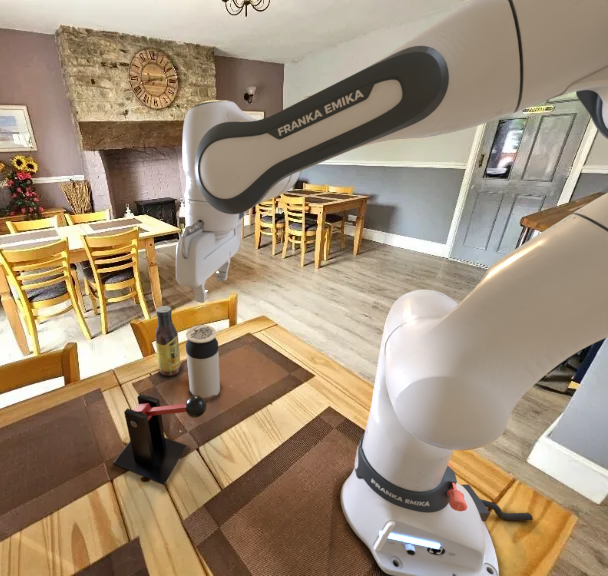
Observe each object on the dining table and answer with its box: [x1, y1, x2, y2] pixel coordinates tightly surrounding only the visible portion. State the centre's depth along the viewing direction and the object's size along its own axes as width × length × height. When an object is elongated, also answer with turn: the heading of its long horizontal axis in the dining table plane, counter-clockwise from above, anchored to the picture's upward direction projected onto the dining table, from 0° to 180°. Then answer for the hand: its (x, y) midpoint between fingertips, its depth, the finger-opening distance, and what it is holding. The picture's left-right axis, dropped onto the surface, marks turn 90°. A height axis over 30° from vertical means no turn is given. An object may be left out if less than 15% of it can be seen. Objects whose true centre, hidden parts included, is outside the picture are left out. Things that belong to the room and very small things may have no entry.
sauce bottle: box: [154, 305, 182, 377], centre depth 86 cm, size 6×6×20 cm
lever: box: [133, 395, 208, 420], centre depth 56 cm, size 16×4×4 cm, turn 67°
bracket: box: [112, 393, 188, 486], centre depth 61 cm, size 12×9×15 cm
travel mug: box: [185, 324, 221, 399], centre depth 79 cm, size 8×8×18 cm
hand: (212, 289), depth 58 cm, fingers open, 8 cm apart
